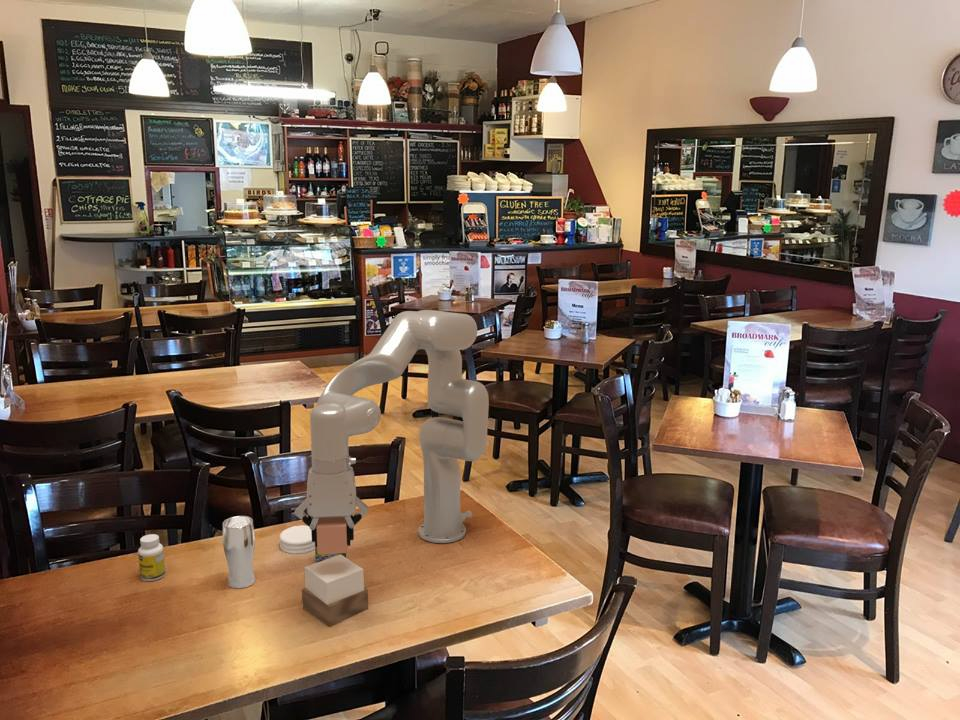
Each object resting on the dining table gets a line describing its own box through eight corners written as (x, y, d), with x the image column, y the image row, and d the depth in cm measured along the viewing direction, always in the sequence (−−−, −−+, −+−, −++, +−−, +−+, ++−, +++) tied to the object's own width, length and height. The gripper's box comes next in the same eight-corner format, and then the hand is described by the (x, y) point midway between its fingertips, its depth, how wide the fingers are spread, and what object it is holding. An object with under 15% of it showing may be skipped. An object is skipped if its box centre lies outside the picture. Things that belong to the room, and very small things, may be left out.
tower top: (341, 574, 172) (340, 554, 171) (363, 590, 165) (363, 569, 164) (305, 588, 166) (304, 567, 165) (327, 605, 159) (326, 583, 158)
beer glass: (228, 592, 173) (224, 530, 169) (223, 578, 179) (219, 518, 175) (260, 585, 176) (256, 524, 173) (253, 571, 182) (250, 513, 179)
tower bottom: (340, 593, 174) (340, 572, 173) (368, 610, 167) (367, 589, 166) (302, 609, 167) (301, 589, 166) (329, 628, 160) (329, 606, 159)
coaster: (271, 547, 195) (270, 535, 194) (301, 533, 202) (300, 521, 202) (298, 558, 189) (298, 545, 188) (328, 543, 197) (327, 531, 196)
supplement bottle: (135, 579, 178) (131, 540, 176) (153, 568, 183) (149, 530, 181) (153, 584, 176) (149, 544, 174) (170, 573, 181) (167, 535, 179)
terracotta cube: (348, 539, 166) (347, 514, 165) (346, 552, 161) (346, 526, 159) (320, 541, 166) (319, 515, 164) (317, 554, 160) (316, 527, 159)
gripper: (372, 456, 164) (374, 534, 168) (290, 458, 162) (293, 537, 166) (372, 468, 156) (373, 550, 160) (285, 471, 154) (289, 553, 158)
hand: (333, 542), depth 163 cm, fingers closed on terracotta cube, 6 cm apart
